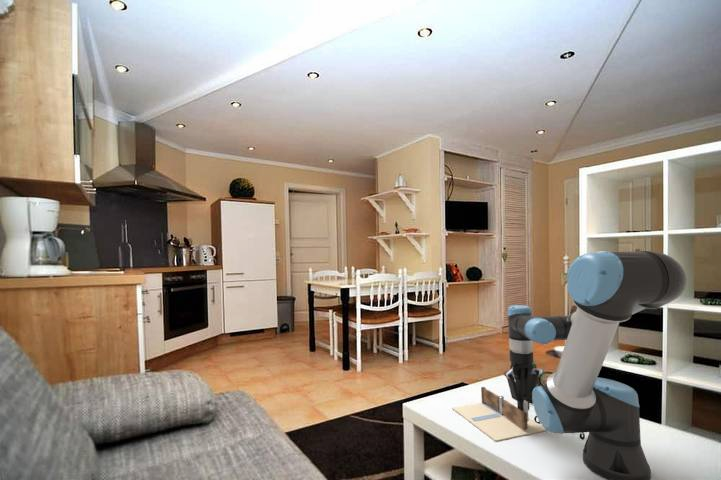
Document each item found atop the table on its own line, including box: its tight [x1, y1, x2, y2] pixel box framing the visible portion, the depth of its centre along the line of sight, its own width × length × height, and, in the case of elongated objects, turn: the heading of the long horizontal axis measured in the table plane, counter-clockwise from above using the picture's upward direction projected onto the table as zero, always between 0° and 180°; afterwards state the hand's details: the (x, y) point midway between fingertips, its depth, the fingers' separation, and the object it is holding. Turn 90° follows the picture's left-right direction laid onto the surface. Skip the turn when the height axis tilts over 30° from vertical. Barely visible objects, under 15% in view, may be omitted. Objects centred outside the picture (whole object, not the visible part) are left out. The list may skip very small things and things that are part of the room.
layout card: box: [451, 402, 548, 443], centre depth 126 cm, size 25×21×1 cm
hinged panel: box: [503, 399, 528, 430], centre depth 121 cm, size 12×1×5 cm, turn 13°
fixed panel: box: [480, 386, 500, 411], centre depth 134 cm, size 10×1×6 cm, turn 17°
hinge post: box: [498, 395, 505, 415], centre depth 128 cm, size 2×2×6 cm
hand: (524, 419), depth 120 cm, fingers closed
